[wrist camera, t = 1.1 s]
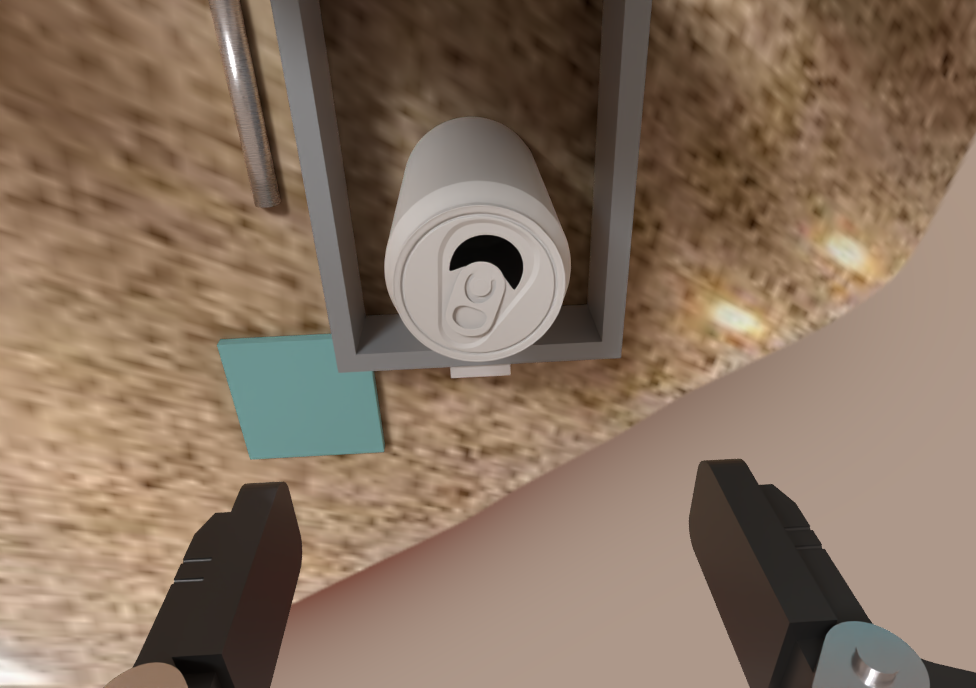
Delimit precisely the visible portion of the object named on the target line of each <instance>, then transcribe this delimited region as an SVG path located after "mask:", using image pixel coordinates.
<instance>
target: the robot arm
mask: <svg viewBox="0 0 976 688" xmlns="http://www.w3.org/2000/svg"><path fill="white" fill-rule="evenodd" d="M689 532H690V538H691V543H692V546H693V549H694V552H695V554H696V557H697V559H698V562H699V564H700V566H701V569H702V572H703V574H704V576H705V579H706V581H707V584H708V586H709V589H710V591H711V594H712V596H713V598H714V601H715V603H716V606H717V608H718V611H719V613H720V615H721V618H722V620H723V623H724V625H725V628H726V630H727V633H728V635H729V638H730V640H731V642H732V645H733V647H734V650H735V652H736V655H737V657H738V660H739V662H740V664H741V667H742V669H743V672H744V674H745V677H746V679H747V682H748V684H749V686H750V688H976V673H974V672H971V671H966V670H962V669H957V668H953V667H949V666H944V665H940V664H936V663H933V662H929V661H926V660H923V659H921V658H920V657H919V656H918V655H917V654H916V652H915V651H914V650H913V649H912V648H911V647H910V646H909V645H908V644H907V643H906V642H904V641H903V640H902V639H901V638H899V637H898V636H896V635H895V634H893V633H891V632H890V631H888V630H886V629H884V628H881V627H879V626H876V625H874V624H872V622H871V621H870V619H869V618H868V617H867V615H866V614H865V612H864V610H863V609H862V607H861V605H860V604H859V602H858V601H857V599H856V598H855V596H854V595H853V593H852V591H851V590H850V588H849V587H848V585H847V583H846V582H845V580H844V579H843V577H842V576H841V574H840V572H839V571H838V569H837V568H836V566H835V565H834V563H833V562H832V560H831V558H830V557H829V555H828V553H827V552H826V550H825V549H822V546H821V545H822V544H821V542H820V541H819V539H818V538H817V536H816V535H815V533H814V531H813V530H810V525H809V524H808V522H807V521H806V519H805V517H804V516H803V514H802V513H801V511H800V509H799V508H798V506H797V505H796V503H795V502H793V501H792V500H791V499H790V498H789V497H787V496H786V495H785V494H784V493H782V492H781V491H780V490H779V489H778V488H776V487H775V486H774V485H773V484H768V485H758V483H757V481H756V480H755V478H754V476H753V474H752V473H751V471H750V469H749V467H748V466H747V464H746V463H745V462H744V461H743V460H742V459H725V460H706V461H701V462H700V464H699V466H698V471H697V476H696V482H695V487H694V493H693V499H692V504H691V510H690V515H689ZM301 562H302V541H301V535H300V531H299V527H298V523H297V519H296V515H295V511H294V508H293V504H292V500H291V496H290V492H289V488H288V486H287V484H286V483H285V482H268V483H249V484H244V485H243V486H242V487H241V489H240V491H239V494H238V496H237V499H236V501H235V503H234V506H233V508H232V511H231V512H224V513H215V514H214V515H213V516H212V517H211V518H210V519H209V520H208V521H207V522H206V523H205V524H204V525H203V526H202V527H201V528H200V529H199V530H198V531H197V533H196V534H195V535H194V537H193V539H192V541H191V543H190V545H189V548H188V550H187V552H186V554H185V556H184V558H183V564H181V565H180V567H179V569H178V571H177V574H176V576H175V578H174V584H172V585H171V587H170V589H169V591H168V593H167V595H166V598H165V600H164V602H163V604H162V606H161V608H160V611H159V613H158V615H157V617H156V619H155V621H154V624H153V626H152V628H151V630H150V632H149V635H148V637H147V639H146V641H145V643H144V645H143V648H142V650H141V652H140V654H139V656H138V658H137V660H136V662H135V664H134V666H133V668H131V669H129V670H127V671H125V672H123V673H122V674H120V675H119V676H117V677H115V678H114V679H113V680H111V681H110V682H109V683H108V684H107V685H106V686H105V687H104V688H270V686H271V682H272V678H273V674H274V670H275V666H276V662H277V658H278V655H279V650H280V646H281V643H282V639H283V635H284V631H285V627H286V623H287V619H288V616H289V612H290V608H291V604H292V600H293V596H294V592H295V588H296V585H297V581H298V577H299V573H300V569H301Z"/></svg>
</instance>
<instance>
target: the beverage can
mask: <svg viewBox="0 0 976 688" xmlns="http://www.w3.org/2000/svg"><path fill="white" fill-rule="evenodd" d="M384 271H385V280H386V285H387V289H388V292H389V295H390V298H391V300H392V302H393V304H394V306H395V308H396V310H397V311H398V313H399V315H400V317H401V319H402V321H403V323H404V324H405V326H406V327H407V328H408V330H409V331H410V332H411V333H412V334H413V335H414V336H415V337H416V338H417V339H418V340H419V341H420V342H421V343H422V344H424V345H425V346H427V347H428V348H430V349H431V350H433V351H435V352H437V353H439V354H441V355H444V356H447V357H450V358H453V359H457V360H462V361H470V362H484V361H493V360H498V359H502V358H506V357H509V356H511V355H514V354H516V353H518V352H520V351H522V350H524V349H526V348H528V347H529V346H531V345H532V344H533V343H535V342H536V341H537V340H538V339H539V338H541V337H542V336H543V335H544V334H545V332H546V331H547V330H548V329H549V328H550V326H551V325H552V324H553V322H554V320H555V319H556V317H557V315H558V313H559V311H560V309H561V306H562V303H563V299H564V297H565V294H566V291H567V288H568V285H569V280H570V273H571V257H570V250H569V246H568V242H567V239H566V236H565V234H564V231H563V229H562V227H561V224H560V222H559V219H558V217H557V214H556V212H555V209H554V207H553V204H552V202H551V199H550V197H549V194H548V192H547V190H546V187H545V185H544V182H543V180H542V177H541V175H540V172H539V170H538V167H537V165H536V162H535V160H534V158H533V155H532V153H531V151H530V150H529V148H528V147H527V145H526V144H525V143H524V142H523V141H522V139H521V138H520V137H519V136H518V135H517V134H516V133H515V132H514V131H512V130H511V129H510V128H508V127H506V126H505V125H503V124H501V123H499V122H497V121H494V120H491V119H487V118H482V117H460V118H455V119H452V120H449V121H446V122H443V123H441V124H440V125H438V126H436V127H434V128H433V129H432V130H430V131H429V132H428V133H426V134H425V135H424V136H423V137H422V138H421V139H420V141H419V142H418V143H417V144H416V146H415V147H414V149H413V151H412V152H411V154H410V156H409V159H408V162H407V164H406V168H405V172H404V177H403V181H402V185H401V189H400V193H399V198H398V202H397V206H396V210H395V215H394V219H393V223H392V227H391V231H390V236H389V240H388V244H387V249H386V254H385V264H384Z"/></svg>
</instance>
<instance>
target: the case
mask: <svg viewBox="0 0 976 688" xmlns="http://www.w3.org/2000/svg"><path fill="white" fill-rule="evenodd" d="M270 1H271V7H272V12H273V18H274V23H275V29H276V34H277V40H278V45H279V51H280V56H281V62H282V67H283V72H284V78H285V83H286V89H287V94H288V100H289V105H290V111H291V116H292V122H293V127H294V133H295V138H296V144H297V149H298V155H299V160H300V166H301V171H302V176H303V182H304V187H305V193H306V198H307V204H308V209H309V215H310V220H311V226H312V231H313V237H314V242H315V248H316V253H317V259H318V264H319V270H320V275H321V280H322V286H323V291H324V297H325V302H326V308H327V313H328V319H329V324H330V330H331V335H332V341H333V346H334V352H335V357H336V363H337V368H338V373H347V372H365V371H384V370H403V369H422V368H441V367H450V370H451V378H465V377H484V376H502V375H511V372H510V364H517V363H536V362H555V361H573V360H592V359H611V358H621V351H622V340H623V328H624V317H625V306H626V294H627V283H628V271H629V260H630V248H631V237H632V225H633V214H634V202H635V191H636V179H637V168H638V157H639V145H640V134H641V122H642V111H643V99H644V88H645V76H646V65H647V53H648V42H649V30H650V19H651V8H652V0H603V17H602V36H601V55H600V74H599V93H598V112H597V131H596V150H595V169H594V188H593V207H592V226H591V245H590V264H589V283H588V301H587V304H585V305H566V306H561V309H560V311H559V313H558V315H557V317H556V319H555V320H554V322H553V324H552V325H551V326H550V328H549V329H548V330H547V331H546V332H545V334H544V335H543V336H542V337H541V338H539V339H538V340H537V341H536V342H535V343H533V344H532V345H531V346H529V347H528V348H526V349H524V350H522V351H520V352H518V353H516V354H514V355H511V356H509V357H506V358H502V359H498V360H493V361H484V362H470V361H462V360H457V359H453V358H450V357H447V356H444V355H441V354H439V353H437V352H435V351H433V350H431V349H430V348H428V347H427V346H425V345H424V344H422V343H421V342H420V341H419V340H418V339H417V338H416V337H415V336H414V335H413V334H412V333H411V332H410V331H409V330H408V328H407V327H406V326H405V324H404V323H403V321H402V319H401V317H400V315H399V314H389V315H369V316H366V314H365V308H364V301H363V294H362V287H361V281H360V274H359V267H358V260H357V254H356V247H355V240H354V233H353V227H352V220H351V213H350V207H349V200H348V193H347V186H346V180H345V173H344V166H343V159H342V153H341V146H340V139H339V132H338V126H337V119H336V112H335V105H334V99H333V92H332V85H331V78H330V72H329V65H328V58H327V51H326V45H325V38H324V31H323V24H322V18H321V11H320V4H319V0H270Z"/></svg>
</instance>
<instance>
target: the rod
mask: <svg viewBox="0 0 976 688" xmlns="http://www.w3.org/2000/svg"><path fill="white" fill-rule="evenodd" d="M209 4H210V9H211V13H212V18H213V22H214V26H215V31H216V35H217V40H218V44H219V48H220V53H221V57H222V62H223V66H224V71H225V75H226V79H227V84H228V88H229V93H230V97H231V101H232V106H233V110H234V115H235V119H236V123H237V128H238V132H239V137H240V141H241V146H242V150H243V154H244V159H245V163H246V168H247V172H248V176H249V181H250V185H251V190H252V194H253V198H254V203H255V206H256V207H261V208H265V207H272V206H276V205H278V204H280V203H281V200H280V195H279V190H278V185H277V181H276V176H275V171H274V166H273V161H272V156H271V151H270V146H269V141H268V137H267V132H266V127H265V122H264V117H263V112H262V107H261V102H260V97H259V93H258V88H257V83H256V78H255V73H254V68H253V63H252V58H251V54H250V49H249V44H248V39H247V34H246V29H245V24H244V19H243V14H242V10H241V5H240V0H209Z"/></svg>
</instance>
